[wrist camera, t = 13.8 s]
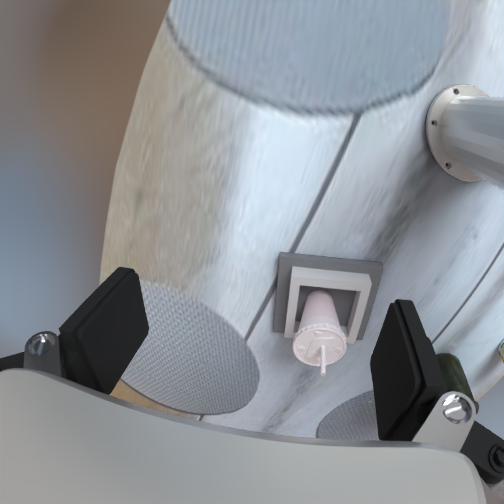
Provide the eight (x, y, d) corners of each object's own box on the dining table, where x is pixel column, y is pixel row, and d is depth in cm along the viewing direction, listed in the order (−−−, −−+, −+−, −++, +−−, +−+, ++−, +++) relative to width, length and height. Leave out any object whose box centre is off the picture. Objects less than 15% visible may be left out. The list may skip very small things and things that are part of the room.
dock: (381, 262, 39) (387, 276, 36) (361, 334, 45) (363, 351, 42) (280, 252, 41) (277, 265, 38) (274, 326, 47) (270, 342, 44)
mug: (432, 393, 49) (443, 441, 39) (385, 374, 48) (393, 428, 38) (470, 360, 44) (489, 407, 33) (426, 335, 43) (445, 390, 32)
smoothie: (351, 300, 41) (361, 375, 29) (319, 325, 44) (317, 401, 32) (319, 272, 40) (320, 346, 28) (287, 301, 43) (276, 376, 31)
